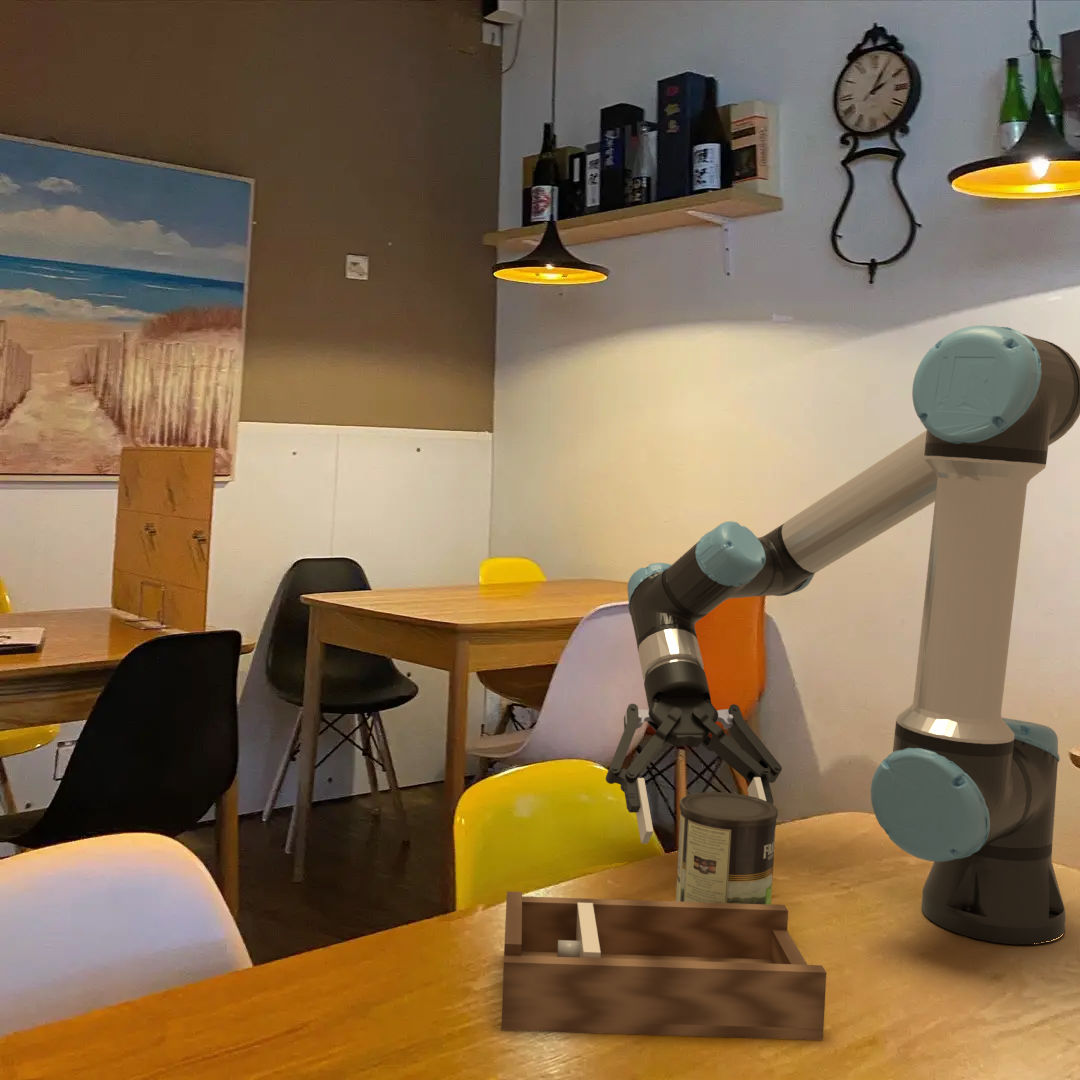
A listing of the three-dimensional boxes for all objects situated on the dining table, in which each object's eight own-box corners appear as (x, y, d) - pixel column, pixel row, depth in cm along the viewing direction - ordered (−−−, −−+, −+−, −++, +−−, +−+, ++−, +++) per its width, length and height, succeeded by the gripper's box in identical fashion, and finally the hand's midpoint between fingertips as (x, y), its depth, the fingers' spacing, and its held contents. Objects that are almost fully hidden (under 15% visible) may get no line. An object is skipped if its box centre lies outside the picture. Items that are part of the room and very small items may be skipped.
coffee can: (768, 921, 127) (776, 796, 126) (771, 959, 117) (779, 823, 116) (674, 910, 129) (682, 787, 128) (669, 948, 118) (677, 813, 118)
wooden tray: (781, 963, 116) (785, 895, 115) (823, 1040, 100) (826, 961, 99) (504, 954, 115) (507, 886, 115) (501, 1030, 99) (504, 950, 99)
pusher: (590, 952, 113) (592, 903, 113) (598, 1008, 101) (600, 952, 101) (555, 951, 113) (557, 901, 113) (558, 1006, 101) (560, 951, 101)
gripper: (762, 694, 144) (804, 850, 130) (568, 692, 140) (589, 854, 126) (780, 659, 139) (826, 818, 125) (578, 656, 134) (602, 821, 120)
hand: (707, 836), depth 125 cm, fingers open, 13 cm apart
